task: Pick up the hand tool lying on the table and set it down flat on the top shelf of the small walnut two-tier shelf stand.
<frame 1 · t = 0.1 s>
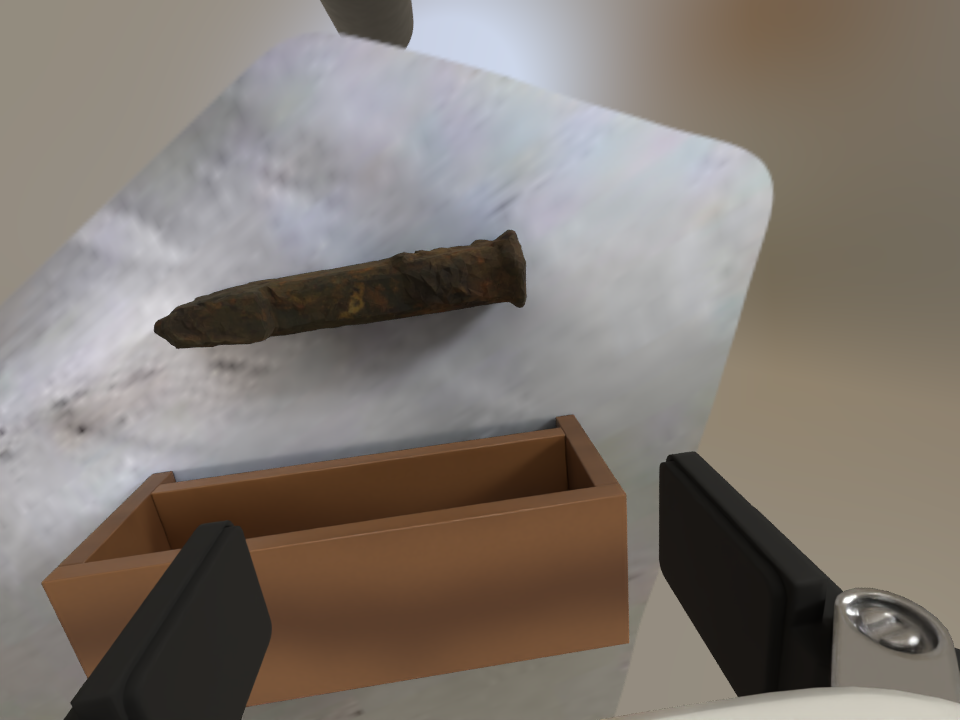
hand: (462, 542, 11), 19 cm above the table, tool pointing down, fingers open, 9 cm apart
shelf stand: (380, 504, 32), on the table
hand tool: (353, 297, 28), on the table
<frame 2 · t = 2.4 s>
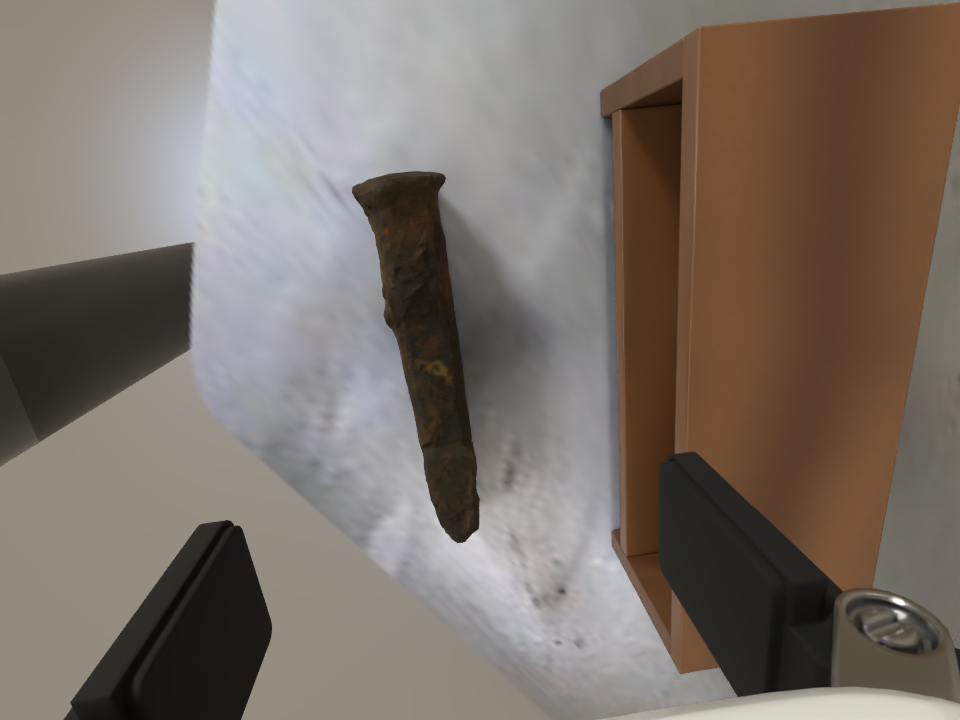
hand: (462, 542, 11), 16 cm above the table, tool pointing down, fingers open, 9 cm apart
shelf stand: (685, 342, 28), on the table
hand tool: (443, 358, 27), on the table
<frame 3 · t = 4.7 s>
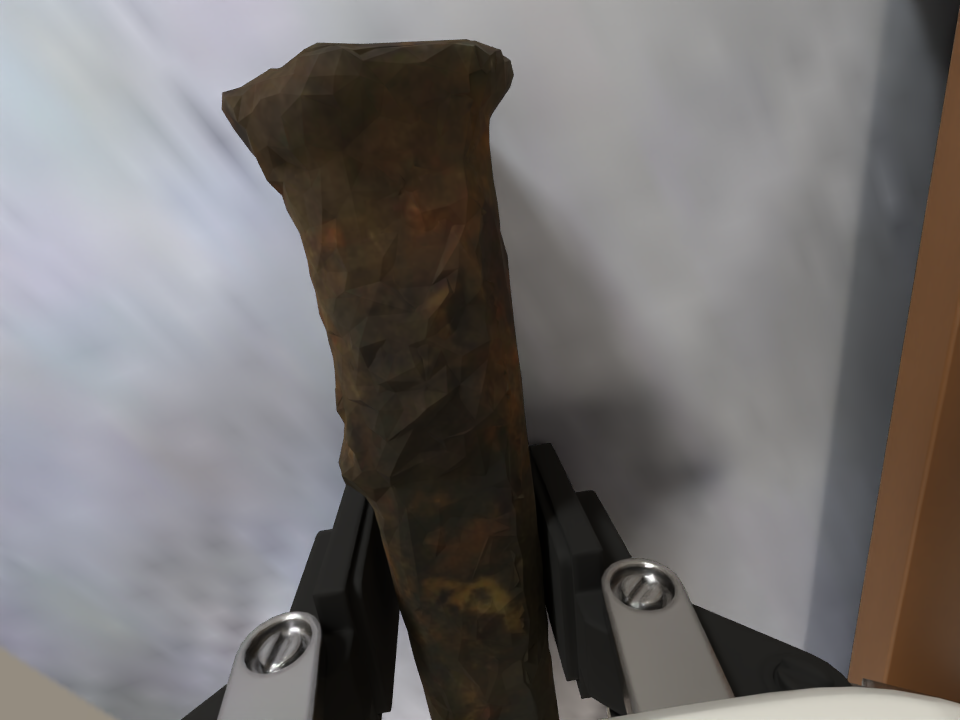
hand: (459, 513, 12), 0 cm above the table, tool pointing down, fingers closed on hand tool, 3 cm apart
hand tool: (484, 505, 12), on the table, touching gripper
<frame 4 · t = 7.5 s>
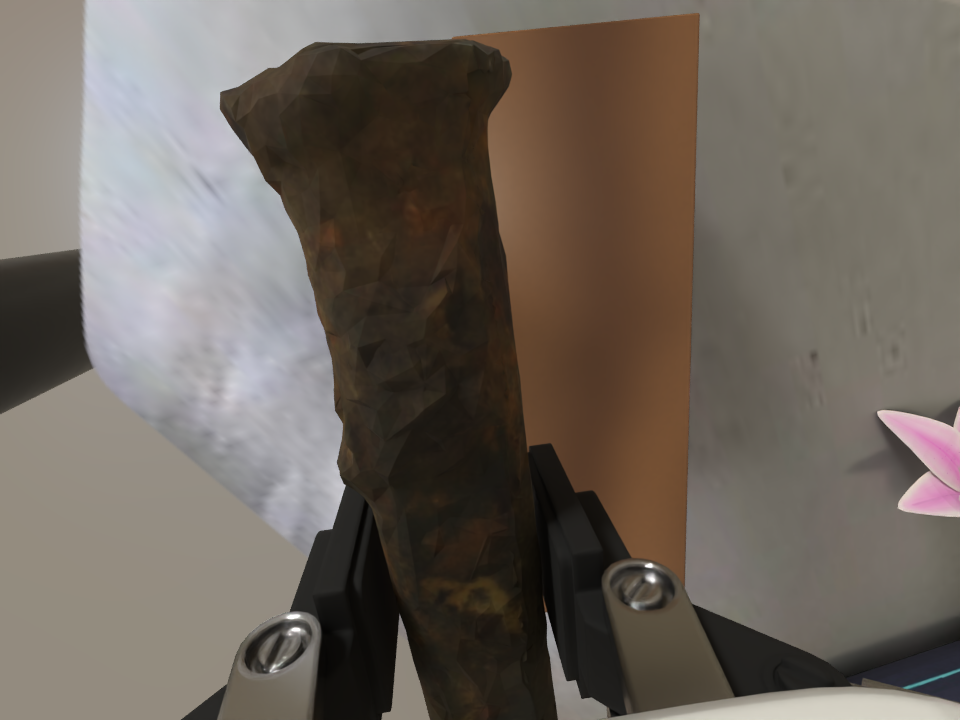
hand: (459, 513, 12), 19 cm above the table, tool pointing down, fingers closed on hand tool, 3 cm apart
shelf stand: (545, 321, 30), on the table
lily: (922, 445, 36), on the table
portable speaker: (921, 661, 43), on the table
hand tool: (483, 505, 12), point 18 cm above the table, touching gripper
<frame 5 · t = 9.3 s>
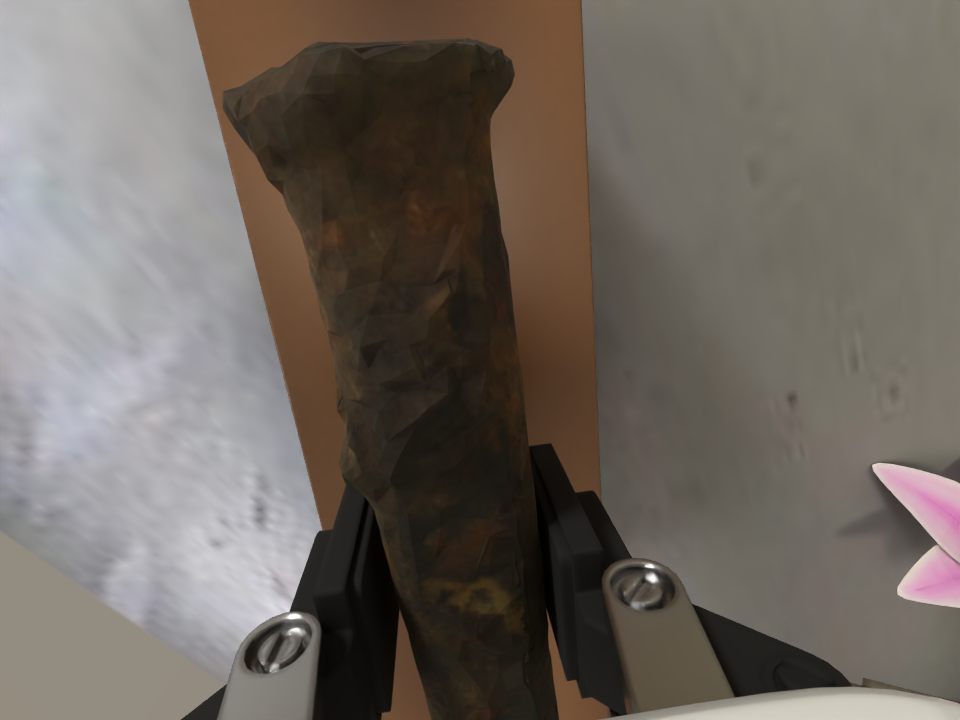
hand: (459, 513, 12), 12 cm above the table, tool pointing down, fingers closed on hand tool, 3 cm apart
shelf stand: (447, 359, 24), on the table
lily: (928, 504, 29), on the table
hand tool: (484, 505, 12), point 12 cm above the table, touching gripper
when the fingers open (9 cm above the table, at t = 10.4 s): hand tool stays where it is, resting on shelf stand.
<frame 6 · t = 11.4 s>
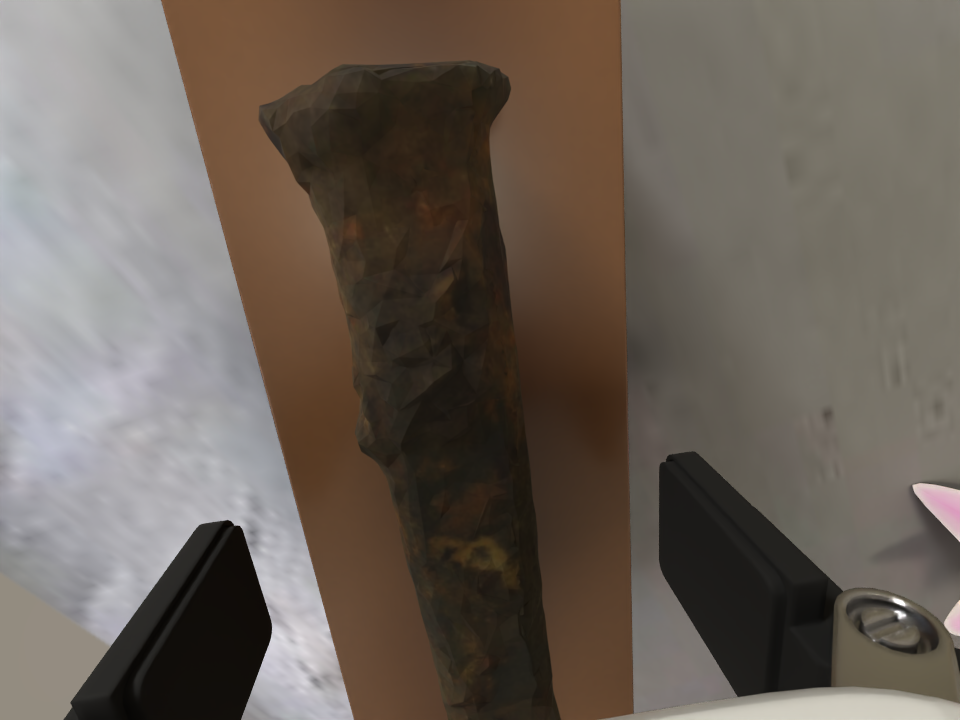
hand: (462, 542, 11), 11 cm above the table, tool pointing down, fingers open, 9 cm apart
shelf stand: (454, 372, 22), on the table
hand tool: (485, 481, 13), point 9 cm above the table, touching shelf stand
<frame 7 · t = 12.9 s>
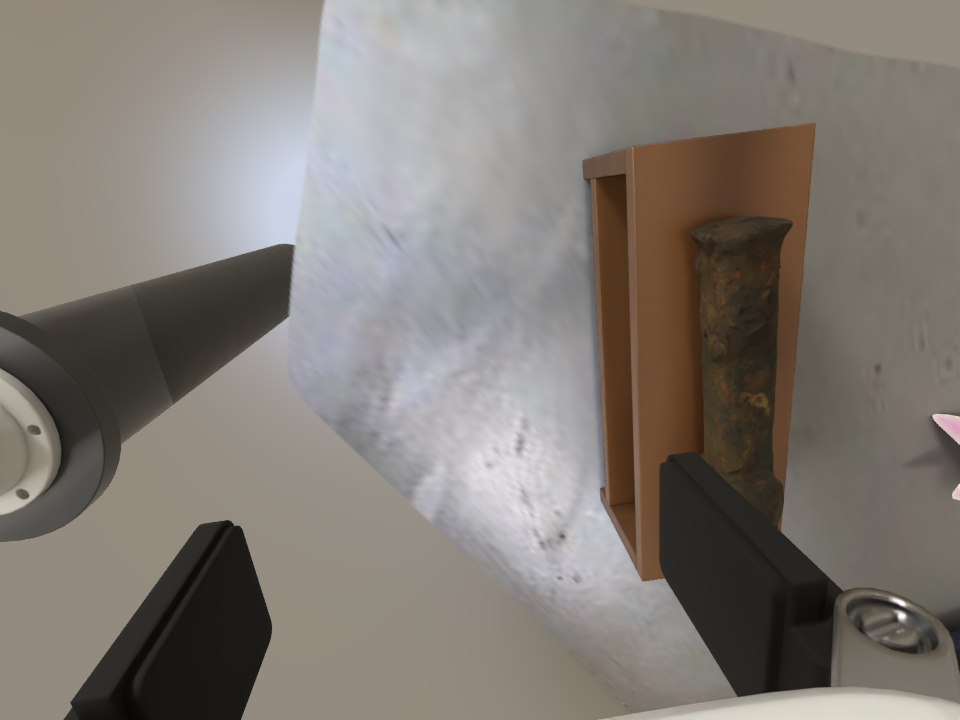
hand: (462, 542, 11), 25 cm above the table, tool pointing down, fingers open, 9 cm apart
shelf stand: (652, 341, 36), on the table
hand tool: (724, 386, 28), point 9 cm above the table, touching shelf stand
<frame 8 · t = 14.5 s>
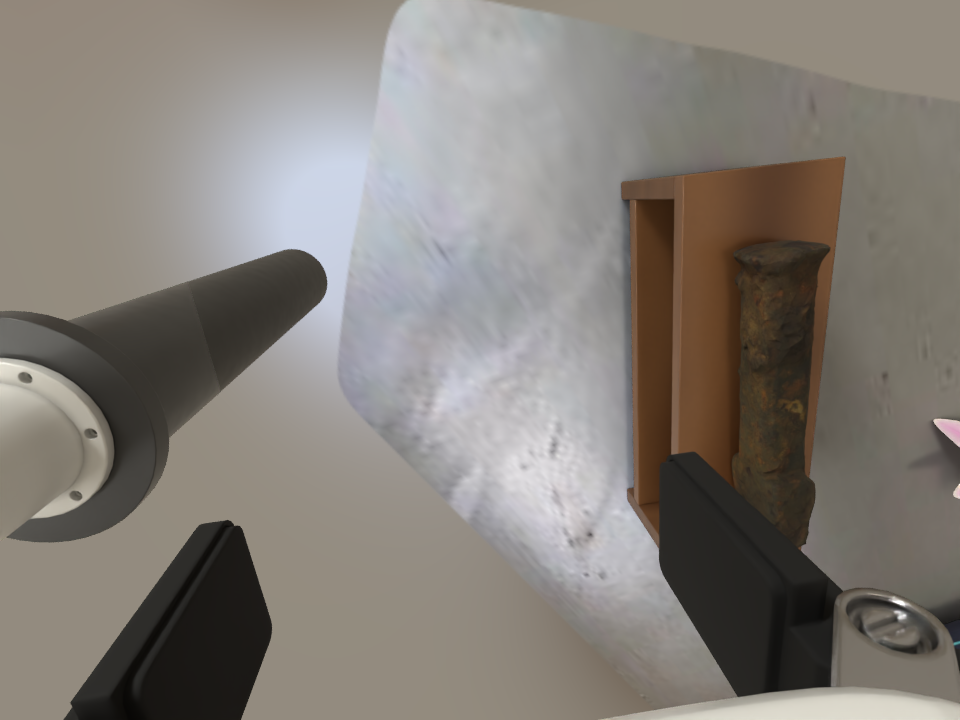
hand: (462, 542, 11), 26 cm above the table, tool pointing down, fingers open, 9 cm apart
shelf stand: (680, 350, 39), on the table
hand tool: (756, 393, 30), point 9 cm above the table, touching shelf stand
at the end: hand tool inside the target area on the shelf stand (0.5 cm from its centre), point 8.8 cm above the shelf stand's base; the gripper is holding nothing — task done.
